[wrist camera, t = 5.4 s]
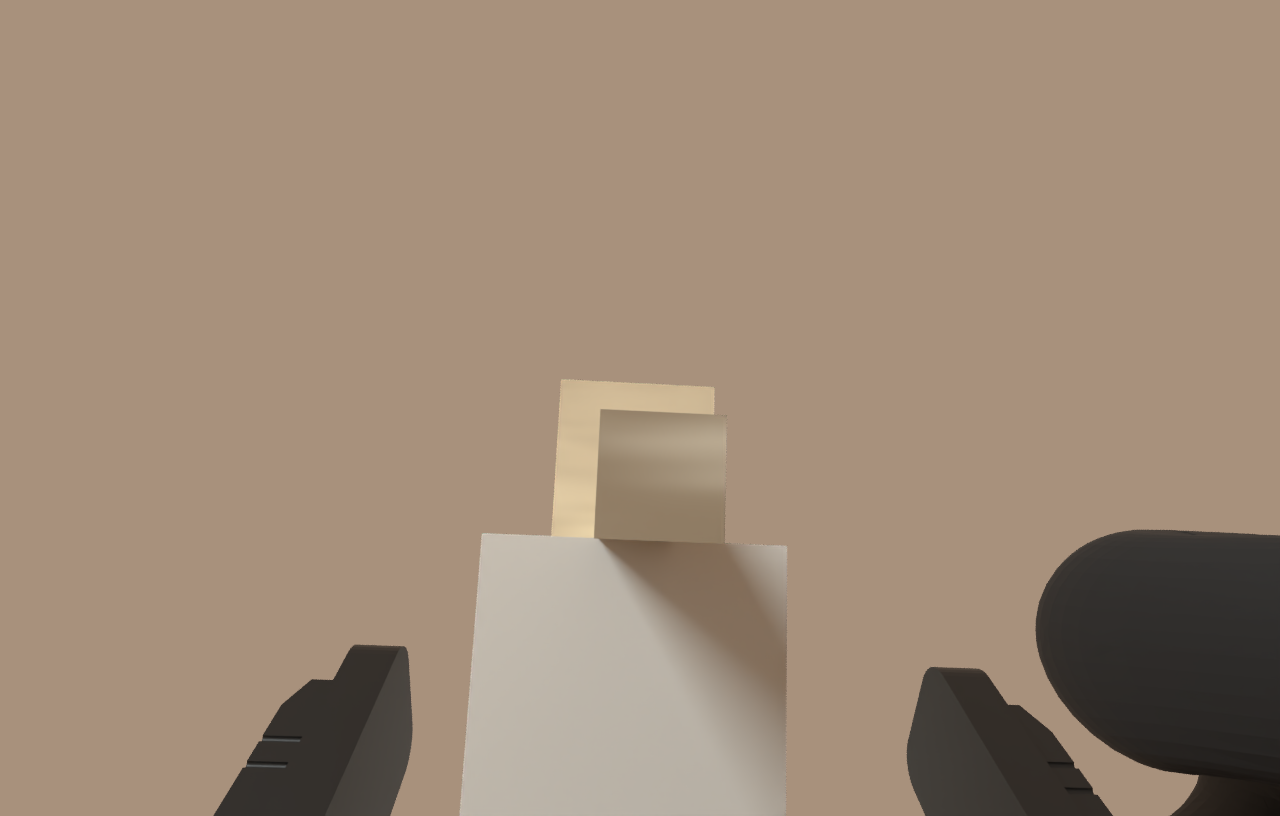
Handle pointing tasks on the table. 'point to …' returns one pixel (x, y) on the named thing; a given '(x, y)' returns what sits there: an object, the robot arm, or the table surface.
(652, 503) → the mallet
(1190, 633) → the robot arm
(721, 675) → the stand
